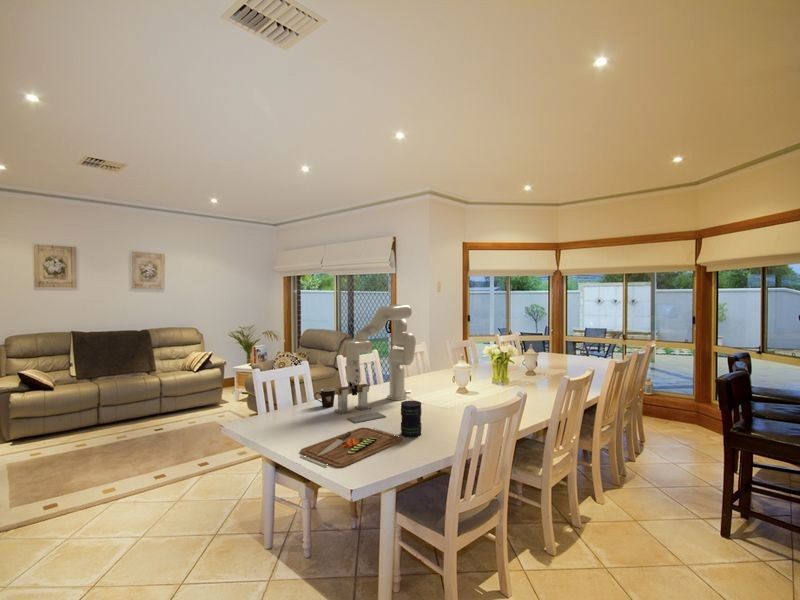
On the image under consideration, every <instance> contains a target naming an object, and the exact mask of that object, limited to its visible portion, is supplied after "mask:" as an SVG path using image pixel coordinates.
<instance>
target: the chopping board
mask: <svg viewBox="0 0 800 600" xmlns="http://www.w3.org/2000/svg"><path fill="white" fill-rule="evenodd" d="M394 435H395V436H394ZM398 436H399V437H398ZM402 440H404V439H403V438H402V437H400V435H398V434H395V433H392V432H388V431H385V430H382V429H378V428H371V427H370V428H369V427H358V428H356V429H353V430H350V431H347V432H345V433H341V434H339V435H336V436H334V437H331V438H328V439H325V440H322V441H319V442H317V443H314V444H312V445H309V446H305V447H303V448H301V449H300V452H299V453H300V454H301V455H300V456H299V458H301V459H303V460H306V461H308V462H311V463H313V464H315V465H318V466H320V467H322V468H325V469H326V468H328V466H331V467H333V468H337V469H343V468H347V467H349V466H352V465H353V464H355V463H358V462H360V461H362V460H365V459H367V458H369V457H372V456H374V455H375V454H377V453H380V452H383V451H385V450H387V449H389V447H390V448H392V447H393V445H394V446H396V445H398V444H397V443H399V444H401V443H402V442H403V441H402ZM400 442H401V443H400ZM395 444H396V445H395ZM391 446H392V447H391ZM313 459H314V460H313ZM315 460H316V461H315ZM317 461H318V462H317ZM322 463H323V464H322Z"/></svg>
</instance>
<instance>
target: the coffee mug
mask: <svg viewBox="0 0 800 600" xmlns="http://www.w3.org/2000/svg"><path fill="white" fill-rule="evenodd" d="M317 394H319V395H320V397H321V400H320V399H319V398H317V397H316V395H317ZM335 394H336V388H332V387H324V388H323V387H322V388H321V389H320V392H315V393H314V395H313V397H314V398H315V400H317V402H320V403H321V406H322V408H326V409H328V408H329V409H330V408H333V407H334V404H335V396H336V395H335Z"/></svg>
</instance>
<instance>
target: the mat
mask: <svg viewBox="0 0 800 600" xmlns="http://www.w3.org/2000/svg"><path fill="white" fill-rule="evenodd" d="M386 417H387V415H384V414H382V413H380V412H379V411H376V412H372V413H366V414H361V415H354V416H350V417H347V418H346V420H349V421H350V422H352V423H353V424H359V423H364V422H368V421H373V420H378V419H383V418H386Z"/></svg>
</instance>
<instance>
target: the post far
mask: <svg viewBox="0 0 800 600" xmlns="http://www.w3.org/2000/svg"><path fill="white" fill-rule="evenodd" d="M369 390H370V385H369V386H364V387H362V392H359V393H357V405H354V408H355V409H357V410H358V411H365V410H371V409H372V407H371V406H369V405H368V393H369Z"/></svg>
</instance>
